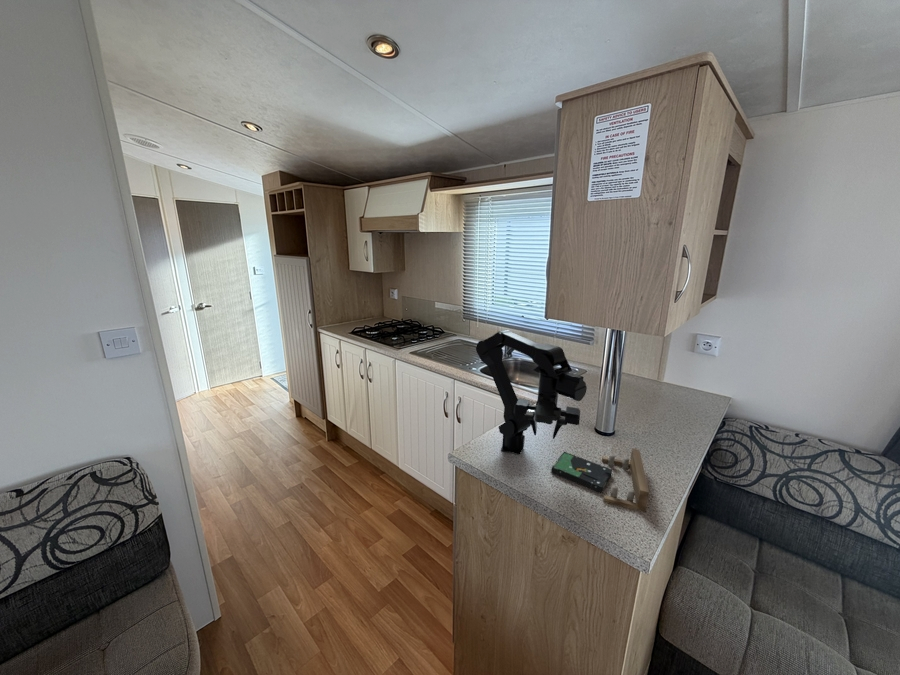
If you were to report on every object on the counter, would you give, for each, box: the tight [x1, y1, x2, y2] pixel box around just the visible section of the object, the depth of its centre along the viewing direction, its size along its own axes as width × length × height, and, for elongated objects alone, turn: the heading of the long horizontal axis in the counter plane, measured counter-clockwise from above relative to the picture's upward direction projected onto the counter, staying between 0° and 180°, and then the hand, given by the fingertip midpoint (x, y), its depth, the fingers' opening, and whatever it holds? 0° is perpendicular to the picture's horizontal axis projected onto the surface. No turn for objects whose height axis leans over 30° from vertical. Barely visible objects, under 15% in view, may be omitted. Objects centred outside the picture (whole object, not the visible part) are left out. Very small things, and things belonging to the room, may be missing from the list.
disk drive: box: [550, 451, 613, 494], centre depth 105 cm, size 10×3×15 cm
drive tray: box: [601, 448, 650, 513], centre depth 100 cm, size 10×20×6 cm, turn 159°
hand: (544, 436), depth 106 cm, fingers open, 5 cm apart
